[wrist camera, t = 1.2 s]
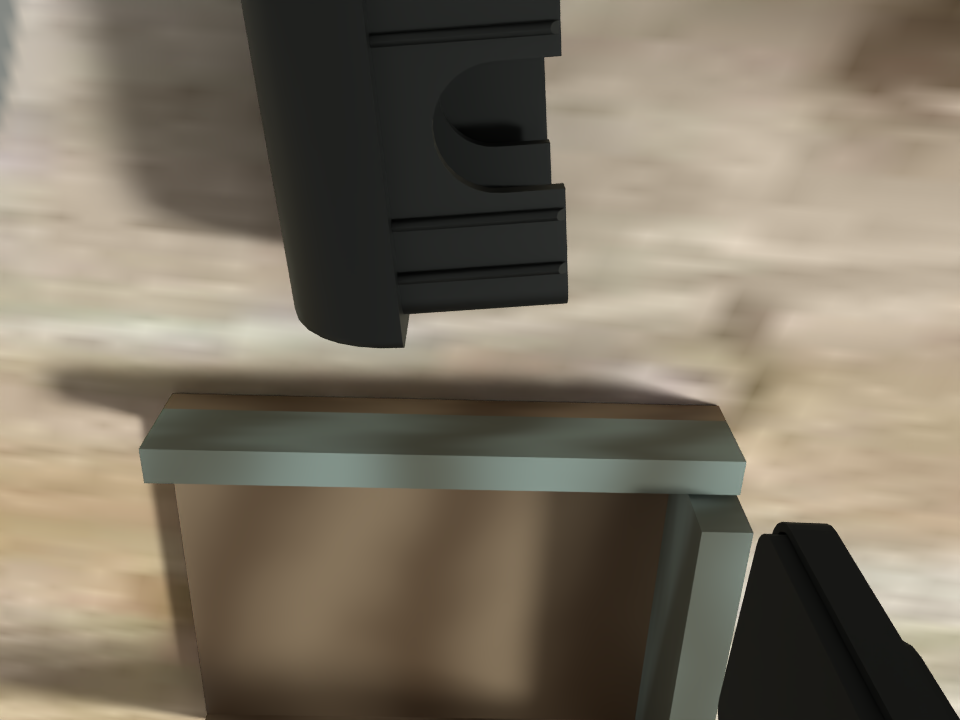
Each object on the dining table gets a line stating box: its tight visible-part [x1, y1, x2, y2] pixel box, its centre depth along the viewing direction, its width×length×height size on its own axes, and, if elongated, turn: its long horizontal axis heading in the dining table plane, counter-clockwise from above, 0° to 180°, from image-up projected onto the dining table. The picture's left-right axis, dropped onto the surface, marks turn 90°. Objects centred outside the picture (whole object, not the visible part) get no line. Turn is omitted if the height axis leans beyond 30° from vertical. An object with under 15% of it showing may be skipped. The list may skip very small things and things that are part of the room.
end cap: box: [241, 0, 568, 348], centre depth 23 cm, size 10×7×7 cm
